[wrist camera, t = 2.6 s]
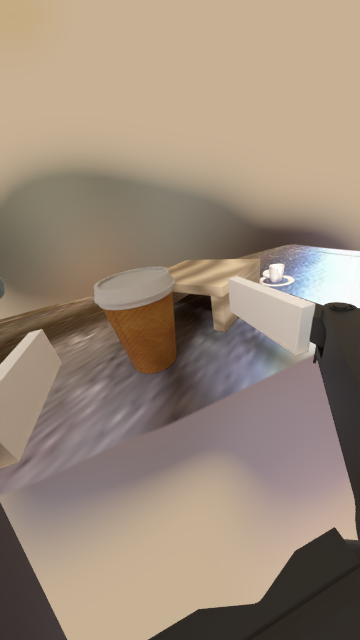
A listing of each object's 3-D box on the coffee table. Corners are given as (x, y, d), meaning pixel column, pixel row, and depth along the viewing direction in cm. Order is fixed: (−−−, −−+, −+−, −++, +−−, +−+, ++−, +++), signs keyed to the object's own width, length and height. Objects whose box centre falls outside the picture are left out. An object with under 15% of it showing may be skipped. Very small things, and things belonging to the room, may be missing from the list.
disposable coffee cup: (165, 332, 33) (148, 263, 28) (202, 356, 26) (189, 269, 21) (113, 359, 29) (81, 283, 23) (140, 396, 22) (103, 299, 16)
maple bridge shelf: (148, 314, 41) (139, 280, 38) (190, 288, 52) (186, 260, 48) (225, 332, 30) (222, 287, 27) (259, 294, 41) (260, 258, 37)
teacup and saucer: (261, 276, 52) (262, 261, 50) (295, 276, 48) (297, 259, 46) (254, 287, 46) (254, 270, 44) (292, 288, 42) (294, 270, 40)
